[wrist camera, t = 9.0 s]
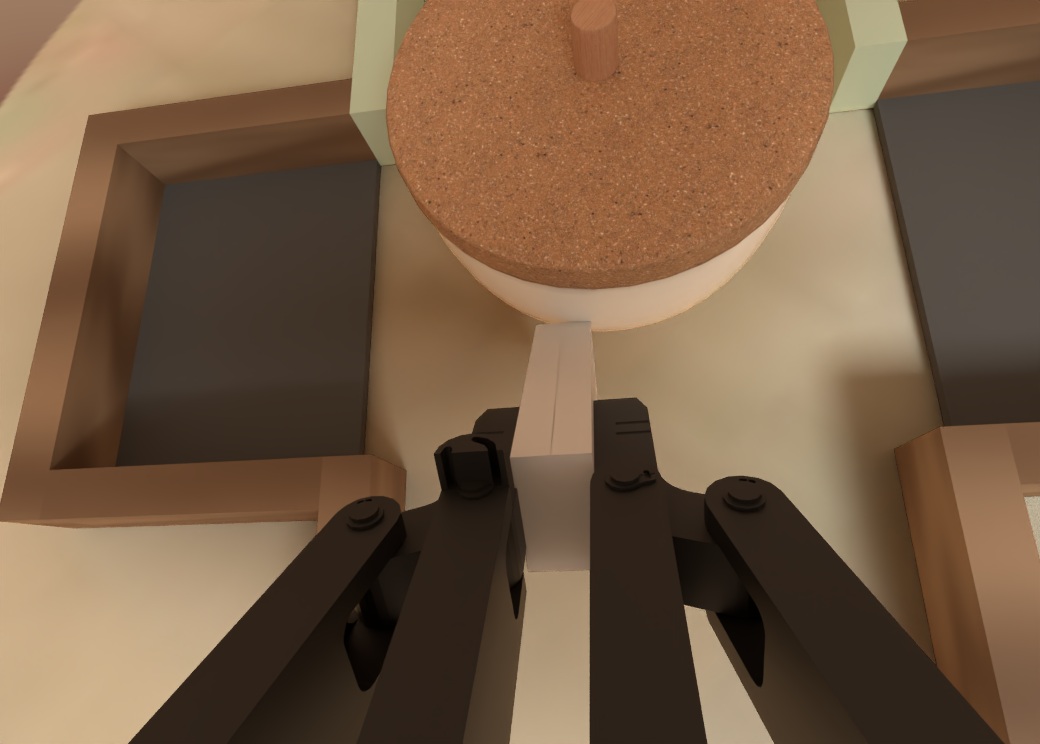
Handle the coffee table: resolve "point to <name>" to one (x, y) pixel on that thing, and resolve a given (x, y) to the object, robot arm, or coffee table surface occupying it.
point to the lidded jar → (607, 143)
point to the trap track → (349, 303)
